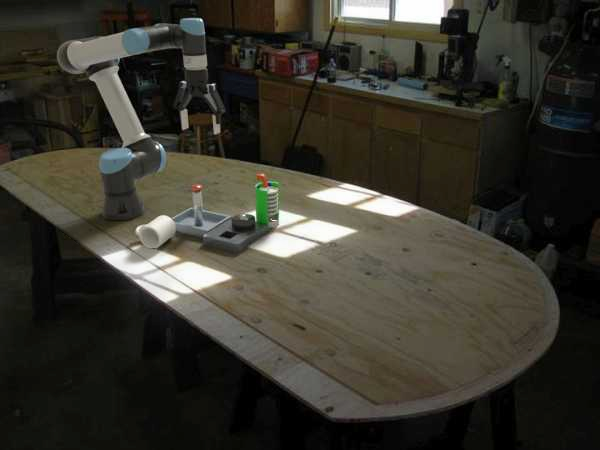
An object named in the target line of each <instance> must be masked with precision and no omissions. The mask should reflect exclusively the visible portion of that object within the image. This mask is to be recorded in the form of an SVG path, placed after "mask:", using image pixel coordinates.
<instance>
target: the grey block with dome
mask: <svg viewBox="0 0 600 450" xmlns="http://www.w3.org/2000/svg"><path fill="white" fill-rule="evenodd" d="M268 233H269V228H268V224H266V223H262V222H257V221H256V215H253V214H249V213H239V214H236V215H233V216H232V218H231V219H230V220H228V221H226V222H225V223H223V224H221V225H220V226H218V227H217V228H215V229H213V230H212V231H210V232H208V233H207V234H205V235H204V236H203V238H202V242H203V245H205V246H209V247H214V248H218V249H221V250H225V251H230V252H234V253H237V254H239V253H241V252H243V251H244V250H245V249H247V248H248V247H249V246H251V245H252V244H254V243H255V242H256V241H258V240H259V239H261V238H262V237H264V236H265V235H267V234H268Z"/></svg>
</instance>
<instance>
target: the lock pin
mask: <svg viewBox="0 0 600 450" xmlns="http://www.w3.org/2000/svg"><path fill="white" fill-rule="evenodd" d="M189 189H190V192H191V198H192V208H193V210H194V220H195V226H203V225H204V217H203V210H204V208H203V207H204V206H203V197H202V190H203V185H202V184H199V183H198V184H197V183H196V184H195V183H194V184H192V185H190V186H189Z"/></svg>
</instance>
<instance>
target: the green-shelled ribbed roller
mask: <svg viewBox="0 0 600 450" xmlns="http://www.w3.org/2000/svg"><path fill="white" fill-rule="evenodd" d="M256 181H261V182H258V183H256V184H255V186H254V189H255V191H254V192H255V194H254V195H255V221H257V222H262V223H266V224H268V229H269V228H276V227H277V226H279V224H280V193H279V191H280V189H279V187H280V186H279V185H280V183H279V182H276V181H268V179H267V175H265V173H258V174H257V175H256ZM271 219H272V220H276V221H272V220H271Z"/></svg>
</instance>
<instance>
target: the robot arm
mask: <svg viewBox="0 0 600 450" xmlns="http://www.w3.org/2000/svg"><path fill="white" fill-rule="evenodd" d="M166 49H181V50H182V57H183V67H184V68H185V69H184V80H182V81H179V82H178V90H177V93H176V96H175V100H174V102H173V108H174V109H177V110H178V115H179V120H180V121H181V122H180V123H181V130H182V131H185V130H187V129H189V127H190V125H189V119H188V118H189V116H188V109H186V107H187V105H189V103H190V101H191V99H192V98H193V97H198V98H201V99H203V100H204V101H205V103H206V104H207V105H208V107H209V108H210V110H211V111H212V113H214V114H212V125H213V128H212V129H213V135H217V134H220V133H221V124H222V114H223V113H226V110H227V109H226V108H225V105H224V102H223V101H222V99H221V96H220V94H219V92H218V90H217V84H216V83H211V84H210V83H208V79H209V73H208V68H207V66H208V60H207V59H208V57H207V50H206V32H205V24H204V21H203V19H202V18H199V17H190V18H189V17H188V18H186V17H185V18H181V19H180V20H179V24H175V23H174V24H173V23H165V22H164V23H156V24H154V25H152V26H150V25H149V26H145V27H144V26H142V27H134V28H129V29H127V30H125V31H122V32H121V31H120V32H119V33H113V34H110V35H107V36H92V37H88V38H87V37H86V38H79V39H71V40H67V41H65V42H64V43H62V44H61V45H60V46H59V47H58V50H57V52H56V59H57V62H58V64H59V66H60V68H62V70H64V71H65V72H67V73H69V74H73V75H80V74H85V73H86V75H87V78H88V79H89V81H92V82H94V83H95V84H96V87H97V90H98V91H99V94H100V95H101V98H102V99H103V101H104V104H105V106H106V109H107V111H108V112H109V114H110V116H111V118H112V121H113V123H114V125H115V127H116V129H117V132H118V133H119V135H120V138H121V140H122V142H123V144H122V146H121V147H117V148H112V149H109V150H107V151H105V152H103V153H101V155H100V156H99V159H98V163H99V164H98V165H99V166H98V169H99V171H100V177H101V184H102V189H103V200H102V206H101V216H102V218H104V219H105V220H107V219H109V221H113V220H121V221H127V220H132V219H135V218H138V217H139V216H141V215H143V214H144V213H145V206H144V203H143V202H142V199H141V196H140V194H139V193H138V189H137V183H136V182H137V181H140V180H142V179H144V178H145V179H146V178H148V177H150V176H153V175H156V174H157V173H159V172H160V171H162V170H163V169H164V167H165V166H166V161H167V155H166V151H165V148H164V147H163V145H162V144H161V143H159V142H158V141H154V140H153V138H152V136H151V135H150V134H148V133H146V132H145V130H144V128H143V126H142V123H141V121H140V119H139V118H138V115H137V113H136V110H135V109H134V107H133V105H132V103H131V100H130V98H129V96H128V94H127V91H126V90H125V88H124V85H123V83H122V80H121V78H120V77H119V74H118V71H119V69H120V67H119V63H120V59H122V58H126V57H130V56H137V55H141V54H144V53H150V52H153V51H160V50H161V51H162V50H166ZM186 90H187V91H186Z"/></svg>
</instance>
